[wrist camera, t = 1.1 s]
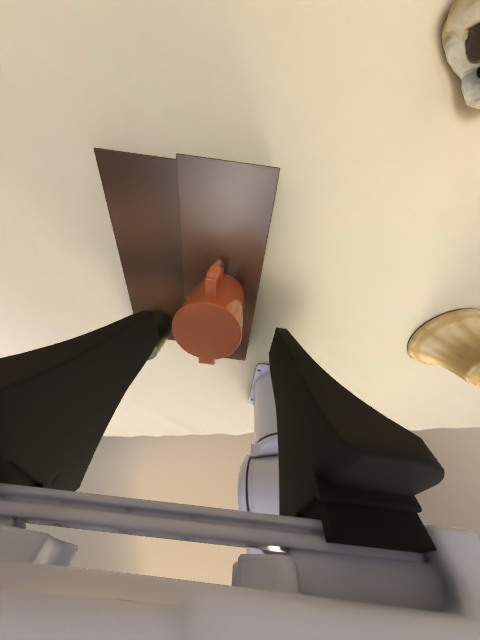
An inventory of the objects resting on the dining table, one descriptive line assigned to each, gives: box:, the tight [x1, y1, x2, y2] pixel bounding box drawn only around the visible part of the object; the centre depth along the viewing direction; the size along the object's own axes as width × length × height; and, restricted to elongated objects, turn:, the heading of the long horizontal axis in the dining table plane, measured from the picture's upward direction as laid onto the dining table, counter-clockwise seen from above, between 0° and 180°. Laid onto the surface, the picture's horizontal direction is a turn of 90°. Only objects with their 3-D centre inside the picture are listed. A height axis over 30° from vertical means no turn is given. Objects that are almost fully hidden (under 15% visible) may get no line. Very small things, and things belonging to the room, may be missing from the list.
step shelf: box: [94, 148, 280, 360], centre depth 18 cm, size 18×14×3 cm
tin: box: [148, 310, 172, 360], centre depth 20 cm, size 4×4×4 cm
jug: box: [172, 259, 245, 365], centre depth 14 cm, size 7×5×6 cm
